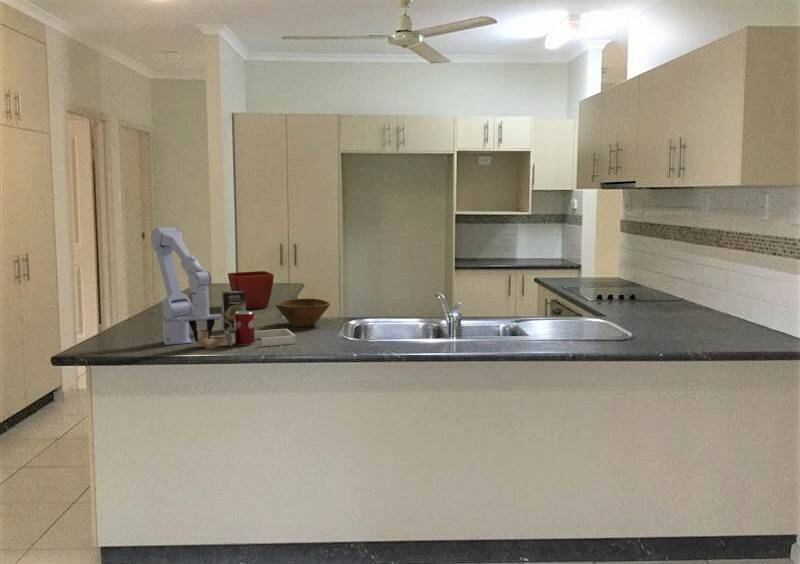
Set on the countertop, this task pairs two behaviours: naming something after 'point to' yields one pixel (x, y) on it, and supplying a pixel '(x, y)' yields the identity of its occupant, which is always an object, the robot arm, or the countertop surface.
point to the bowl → (302, 310)
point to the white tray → (275, 337)
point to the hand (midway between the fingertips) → (202, 340)
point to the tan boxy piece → (212, 339)
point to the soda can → (244, 328)
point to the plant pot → (253, 287)
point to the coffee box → (231, 308)
